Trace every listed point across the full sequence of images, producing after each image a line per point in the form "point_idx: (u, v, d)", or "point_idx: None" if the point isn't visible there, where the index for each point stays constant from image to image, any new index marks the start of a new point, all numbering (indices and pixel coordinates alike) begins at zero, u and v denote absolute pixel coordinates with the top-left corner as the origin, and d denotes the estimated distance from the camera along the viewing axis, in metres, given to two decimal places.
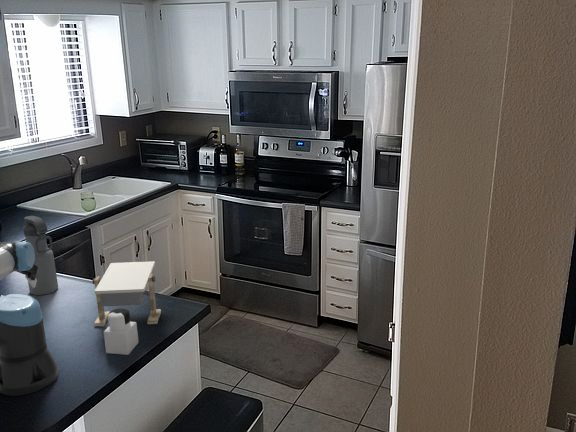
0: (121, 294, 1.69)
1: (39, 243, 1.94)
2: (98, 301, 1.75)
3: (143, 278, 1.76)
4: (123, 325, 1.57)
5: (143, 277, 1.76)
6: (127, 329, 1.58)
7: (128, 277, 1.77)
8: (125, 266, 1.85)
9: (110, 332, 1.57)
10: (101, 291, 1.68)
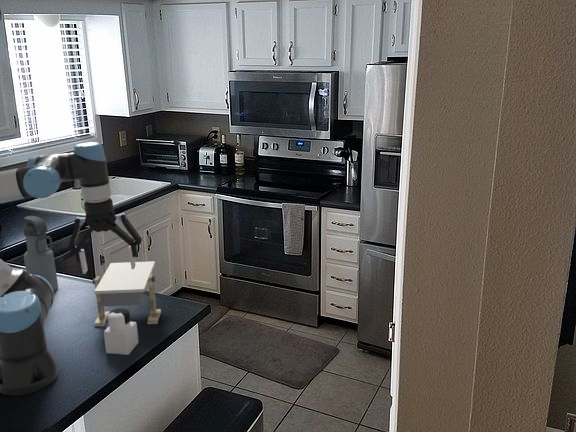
0: (121, 294, 1.69)
1: (39, 243, 1.94)
2: (98, 301, 1.75)
3: (143, 278, 1.76)
4: (123, 325, 1.57)
5: (143, 277, 1.76)
6: (127, 329, 1.58)
7: (128, 277, 1.77)
8: (125, 266, 1.85)
9: (110, 332, 1.57)
10: (101, 291, 1.68)
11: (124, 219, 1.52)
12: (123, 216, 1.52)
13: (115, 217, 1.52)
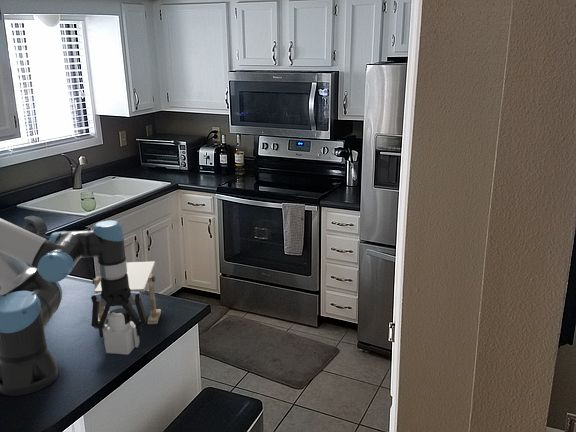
0: None
1: None
2: None
3: (143, 278, 1.76)
4: (123, 325, 1.57)
5: (143, 277, 1.76)
6: (127, 329, 1.58)
7: (128, 277, 1.77)
8: None
9: (110, 332, 1.57)
10: (101, 291, 1.68)
11: (138, 298, 1.56)
12: (138, 295, 1.56)
13: (130, 294, 1.56)
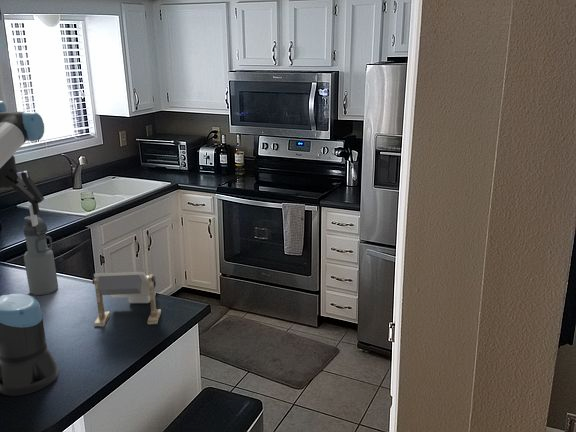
0: (120, 277, 1.68)
1: (39, 243, 1.94)
2: (98, 301, 1.75)
3: None
4: None
5: None
6: None
7: None
8: None
9: None
10: (100, 274, 1.68)
11: (24, 177, 1.58)
12: (23, 173, 1.58)
13: (16, 174, 1.58)
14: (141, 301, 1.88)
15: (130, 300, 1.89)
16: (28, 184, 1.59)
